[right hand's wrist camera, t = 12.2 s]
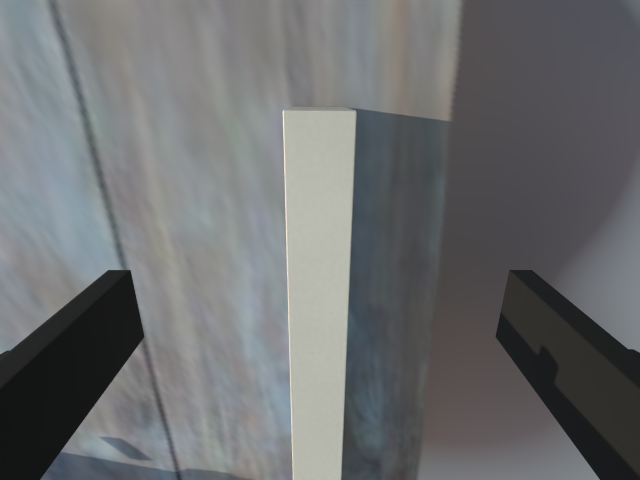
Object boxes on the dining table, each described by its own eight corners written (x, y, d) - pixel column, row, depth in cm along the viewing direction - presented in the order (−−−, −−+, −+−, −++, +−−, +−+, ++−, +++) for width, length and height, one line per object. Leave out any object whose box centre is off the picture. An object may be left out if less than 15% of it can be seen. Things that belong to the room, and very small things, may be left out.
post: (292, 106, 32) (282, 110, 24) (347, 107, 32) (356, 110, 24) (301, 577, 57) (297, 657, 49) (331, 577, 57) (333, 657, 49)
